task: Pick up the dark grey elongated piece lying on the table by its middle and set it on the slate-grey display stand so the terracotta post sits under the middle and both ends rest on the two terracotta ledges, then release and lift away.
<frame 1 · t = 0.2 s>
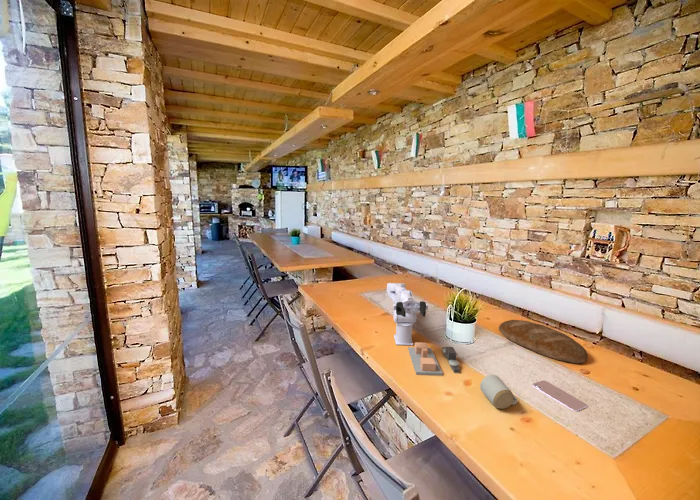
hand: (414, 314, 116), 21 cm above the table, tool horizontal, fingers open, 7 cm apart
mobile phone: (558, 396, 102), on the table
ceramic mug: (499, 401, 99), on the table
dark grey elongated piece: (450, 360, 122), on the table
display stand: (424, 361, 122), on the table
bread: (538, 345, 138), on the table
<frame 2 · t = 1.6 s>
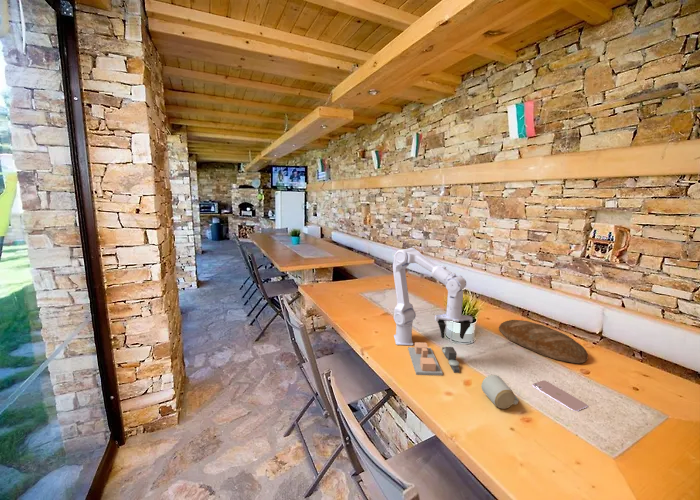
hand: (452, 337, 121), 10 cm above the table, tool pointing down, fingers open, 7 cm apart
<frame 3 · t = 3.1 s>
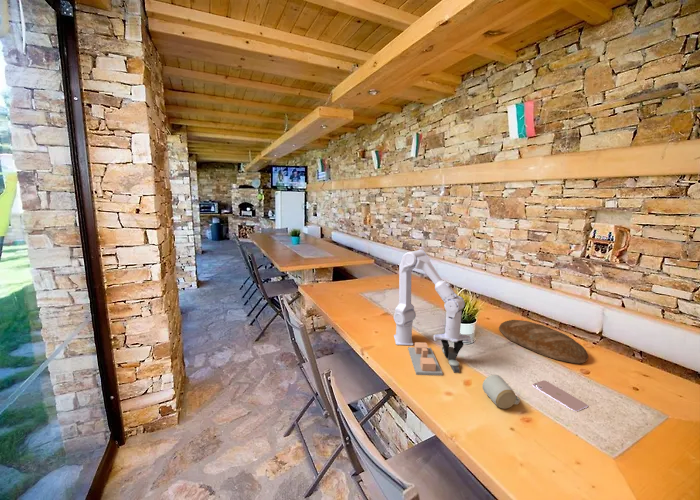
hand: (450, 356, 122), 2 cm above the table, tool pointing down, fingers closed on dark grey elongated piece, 3 cm apart
dark grey elongated piece: (450, 360, 122), on the table, touching gripper
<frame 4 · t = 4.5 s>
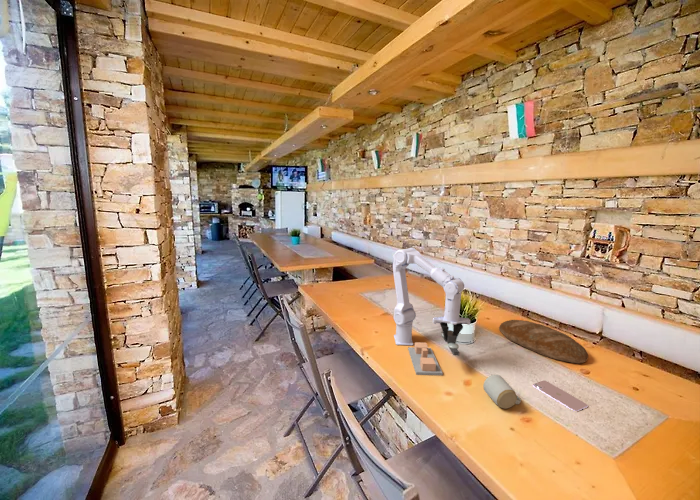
hand: (449, 339, 121), 9 cm above the table, tool pointing down, fingers closed on dark grey elongated piece, 3 cm apart
dark grey elongated piece: (449, 344, 121), point 7 cm above the table, touching gripper
when the fingers open (7 cm above the table, at t = 6.2 s): dark grey elongated piece stays where it is, resting on display stand.
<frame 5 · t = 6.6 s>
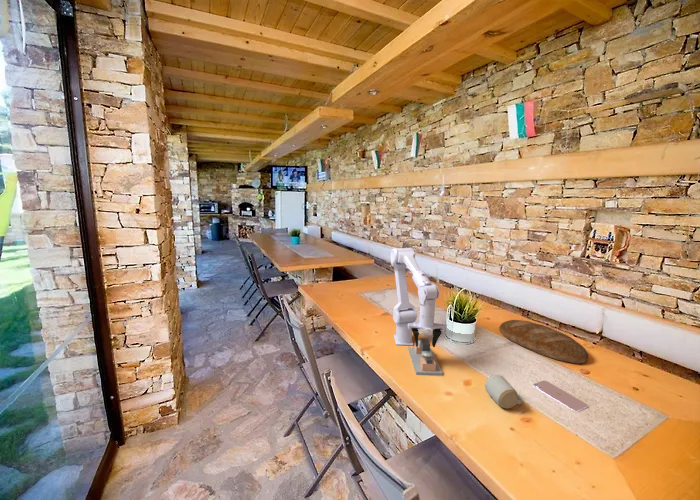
hand: (425, 345, 121), 7 cm above the table, tool pointing down, fingers open, 6 cm apart
dark grey elongated piece: (424, 352, 121), point 4 cm above the table, touching display stand
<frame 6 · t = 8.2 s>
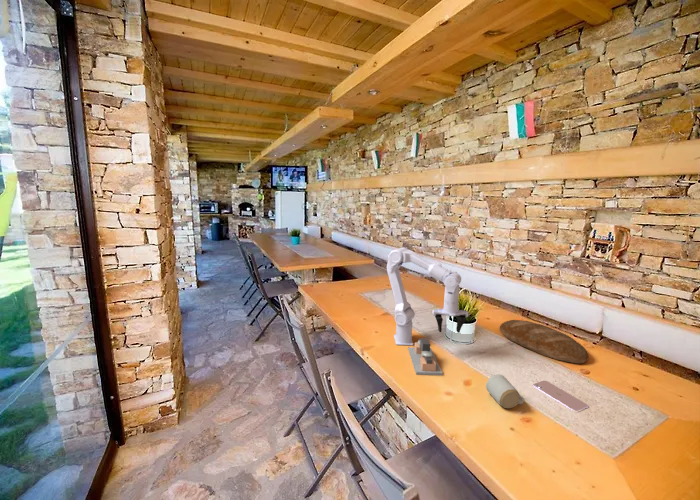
hand: (448, 331, 126), 10 cm above the table, tool pointing down, fingers open, 7 cm apart
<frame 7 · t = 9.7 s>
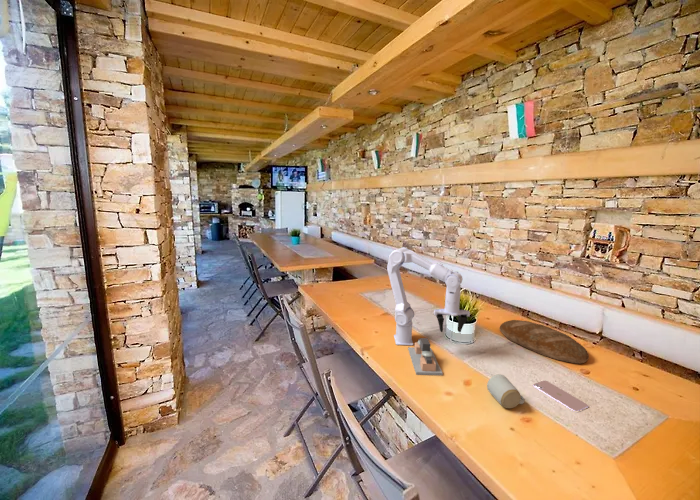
hand: (450, 331, 126), 10 cm above the table, tool pointing down, fingers open, 7 cm apart
at the end: dark grey elongated piece 0.1 cm off-centre on the display stand, point 4.0 cm above the display stand's base; dark grey elongated piece tilted 0°; the gripper is holding nothing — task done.
